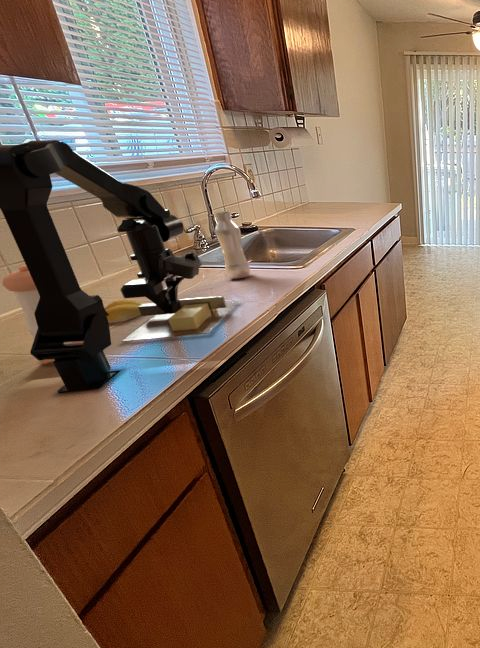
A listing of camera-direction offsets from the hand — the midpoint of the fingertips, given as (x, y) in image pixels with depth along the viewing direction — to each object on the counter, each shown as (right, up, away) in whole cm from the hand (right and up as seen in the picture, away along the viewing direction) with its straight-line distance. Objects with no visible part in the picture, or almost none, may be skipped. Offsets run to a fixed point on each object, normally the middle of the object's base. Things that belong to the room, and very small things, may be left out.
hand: (171, 311), depth 96 cm
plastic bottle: (-1, +11, +29) cm, 31 cm away
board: (+4, -3, -1) cm, 5 cm away
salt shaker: (-10, -9, -14) cm, 20 cm away
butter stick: (+7, -3, -3) cm, 8 cm away
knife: (+3, 0, +1) cm, 3 cm away
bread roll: (-14, -2, +3) cm, 14 cm away
